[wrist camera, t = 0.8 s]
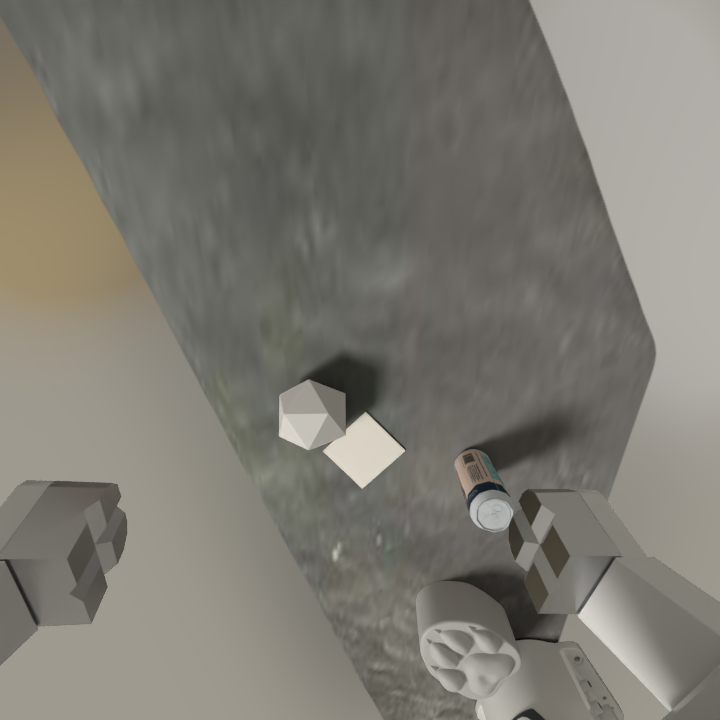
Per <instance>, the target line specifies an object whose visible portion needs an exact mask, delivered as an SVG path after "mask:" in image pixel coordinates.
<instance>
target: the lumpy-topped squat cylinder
mask: <svg viewBox="0 0 720 720" xmlns="http://www.w3.org/2000/svg"><path fill="white" fill-rule="evenodd" d="M416 610H417V621H418V631H419V642H420V651H421V655H422V658H423V660H424V662H425V664H426V666H427V668H428V670H429V671H430V673H431V674H432V675H433V676H434V677H435V678H437V679H438V680H439V681H440V682H441V684H442V685H443V686H444V688H445V689H447V690H448V691H451V692H458V693H460V694H462V695H464V696H466V697H468V698H471V699H476V700H479V699H487V698H490V697H492V696H493V695H494V694H495V693H496V692H497V691H498V690H499V688H500V687H501V685H502V684H503V683H504V682H505V681H506V680H507V679H508V678H510V677H511V676H513V675H514V674H515V673H517V672H518V670H519V669H520V667H521V663H522V661H521V655H520V652H519V649H518V646H517V643H516V641H515V638H514V635H513V632H512V629H511V626H510V624H509V621H508V618H507V615H506V612H505V610H504V608H503V607H502V606H501V605H500V604H499V603H498V602H497V601H495V600H494V599H493V598H492V597H490V596H489V595H488V594H486V593H485V592H483V591H482V590H480V589H478V588H477V587H475V586H473V585H471V584H468V583H464V582H457V581H440V582H435V583H432V584H429V585H427V586H425V587H424V588H423V589H421V591H420V592H419V594H418V596H417V599H416Z"/></svg>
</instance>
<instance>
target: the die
mask: <svg viewBox="0 0 720 720" xmlns="http://www.w3.org/2000/svg"><path fill="white" fill-rule="evenodd" d="M343 436H346V395H345V393H343V392H340V391H338V390H335V389H333V388H330V387H327V386H325V385H322V384H320V383H317V382H314V381H312V380H309V379H308V380H306V381H305V382H303V383H301V384H299V385H297V386H295V387H293V388H291V389H290V390H288V391H286V392H284V393H282V394H280V399H279V437H282V438H284V439H286V440H288V441H290V442H292V443H294V444H296V445H299V446H301V447H303V448H305V449H307V450H311V449H314V448H317V447H319V446H322V445H324V444H326V443H329V442H331V441H334V440H336V439H338V438H341V437H343Z"/></svg>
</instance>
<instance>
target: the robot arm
mask: <svg viewBox="0 0 720 720" xmlns="http://www.w3.org/2000/svg"><path fill="white" fill-rule="evenodd" d="M120 498H121V494H120V491H119V488H118V485H117V484H113V483H95V482H72V481H35V480H26V481H25V482H23V483H22V484H20V485H18V486H17V487H16V488H15V490H14V491H13V492H12V493H11V495H10V496H9V497H8V498H7V499H6V501H5V502H4V503H3V505H2V506H1V507H0V665H1V664H2V663H3V662H4V661H6V659H8V658H9V657H10V656H11V655H12V654H13V653H14V652H15V651H16V650H17V649H18V648H19V647H20V646H21V645H22V644H23V643H24V642H25V641H27V640H28V639H29V638H30V637H31V636H32V635H33V634H34V633H35V632H36V631H37V630H38V628H37V627H38V626H58V625H77V624H91V623H92V621H93V619H94V616H95V614H96V612H97V610H98V607H99V605H100V603H101V600H102V598H103V596H104V594H105V592H106V589H107V583H106V580H105V576H104V574H106V573H107V572H108V571H109V570H110V569H112V568H113V567H114V566H115V565H117V564H118V561H119V559H120V557H121V554H122V552H123V550H124V545H125V541H126V536H127V519H126V515H125V513H124V512H123V511H122V510H121V509H120V508H118V507H117V504H118V502H119V500H120ZM518 502H519V504H520V506H521V508H522V509H521V510H520V511H518V512H517V513H516V514H514V515H513V516H512V518H511V521H510V524H509V526H508V540H509V545H510V549H511V552H512V554H513V557H514V559H515V561H516V562H517V563H518V564H519V565H520V566H521V567H522V568H523V569H525V570H526V571H527V572H526V576H525V580H524V583H525V585H526V587H527V590H528V592H529V594H530V597H531V599H532V601H533V603H534V606H535V608H536V610H537V613H538V614H579V615H578V617H579V618H580V619H581V620H582V621H583V622H584V623H585V624H586V625H587V626H588V627H589V628H590V629H591V631H592V632H593V633H594V634H595V635H596V636H597V637H598V638H599V639H600V640H601V641H602V642H603V643H604V644H605V645H606V646H607V647H608V648H609V649H610V650H611V651H612V652H613V653H614V654H615V655H616V656H617V657H618V658H619V660H621V662H622V663H623V664H624V665H625V666H626V667H627V668H628V669H629V670H630V671H631V672H632V673H633V674H634V675H635V676H636V677H637V678H638V679H639V680H640V681H641V682H642V683H643V684H644V685H645V686H646V687H647V688H648V689H649V691H650V692H651V693H652V694H653V695H654V696H655V697H656V698H657V699H658V700H659V701H660V702H661V703H662V704H663V705H664V706H665V707H666V708H667V709H668V710H669V711H670V712H669V713H668V714H667V715H666V716H665V717H664V718H663V719H662V720H720V602H719V601H717V600H716V599H714V598H713V597H711V596H710V595H709V594H707V593H706V592H704V591H703V590H701V589H700V588H698V587H697V586H696V585H694V584H692V583H691V582H690V581H688V580H687V579H685V578H684V577H682V576H681V575H680V574H678V573H677V572H675V571H674V570H672V569H671V568H669V567H668V566H667V565H665V564H664V563H662V562H661V561H659V560H658V559H656V558H654V557H647V556H646V554H645V553H644V552H643V550H642V549H641V548H640V546H639V545H638V543H637V542H636V541H635V539H634V538H633V536H632V535H631V534H630V532H629V531H628V530H627V528H626V527H625V526H624V524H623V523H622V521H621V520H620V519H619V517H618V516H617V514H616V513H615V512H614V510H613V509H612V508H611V506H610V505H609V503H608V502H607V501H606V499H605V498H604V497H603V495H602V494H601V493H599V492H598V491H596V490H580V489H573V490H569V489H527V490H525V491H524V492H523V493H522V495H521V497H520V499H519V501H518ZM516 643H517V646H518V649H519V652H520V655H521V661H522V663H521V667H520V669H519V670H518V672H517V673H515V674H514V675H513V676H511V677H510V678H508V679H507V680H506V681H505V682H504V683H503V684H502V685H501V687H500V688H499V690H498V691H497V692H496V693H495V694H494V695H493V696H492V697H490V698H487V699H479V700H477V703H476V707H475V710H476V713H477V716H478V718H479V719H480V720H623V719H624V716H623V713H622V710H621V708H620V707H619V705H618V703H617V702H616V701H615V699H614V697H613V696H612V695H611V693H610V692H609V690H608V688H607V687H606V685H605V684H604V682H603V681H602V679H601V678H600V677H599V675H598V673H597V672H596V670H595V669H594V667H593V666H592V664H591V663H590V661H589V660H588V658H587V657H586V655H585V654H584V652H583V651H582V649H581V648H580V646H579V645H578V644H577V643H575V642H559V643H549V642H545V641H540V640H518V641H516Z"/></svg>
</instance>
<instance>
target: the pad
mask: <svg viewBox="0 0 720 720" xmlns="http://www.w3.org/2000/svg"><path fill="white" fill-rule="evenodd" d="M323 452H324V453H325V454H326V455H327V456H328V457H330V458H331V459H332V460H333V461H334V462H335V463H336V464H337V465H338V466H339V467H340V468H341V469H342V470H343V471H344V472H345V473H346V474H347V475H348V476H350V477H351V478H352V479H353V480H354V481H355V482H356V483H357V484H358V485H359V486H360V487H361V488H364V487H365V486H366V485H367V484H368V483H369V482H370V481H372V480H373V479H374V478H375V477H376V476H377V475H378V474H380V473H381V472H382V471H383V470H384V469H385V468H386V467H388V466H389V465H390V464H391V463H392V462H393V461H394V460H395V459H397V458H398V457H399V456H400V455H401V454H402V453H403V452H405V449H403V448H402V447H401V446H400V445H399V444H398V443H397V442H396V441H395V440H394V439H393V438H392V437H391V436H390V435H389V434H388V433H387V432H386V431H385V430H384V429H383V428H382V427H381V426H380V425H379V424H378V423H377V422H376V421H375V420H374V419H373V418H372V417H371V416H370V415H369V414H368V413H367V412H366V411H365V412H364V413H363V414H362V415H361V416H360V417H359V418H358V419H357V420H356V421H354V422H353V423H352V424H351V425H350V426H349V427H348V428H347V429H346V436H343V437H341V438H338V439H336V440H334V441H333V442H332V443H331V444H330V445H328V446H327V447H326V448H325V449H324V450H323Z"/></svg>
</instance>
